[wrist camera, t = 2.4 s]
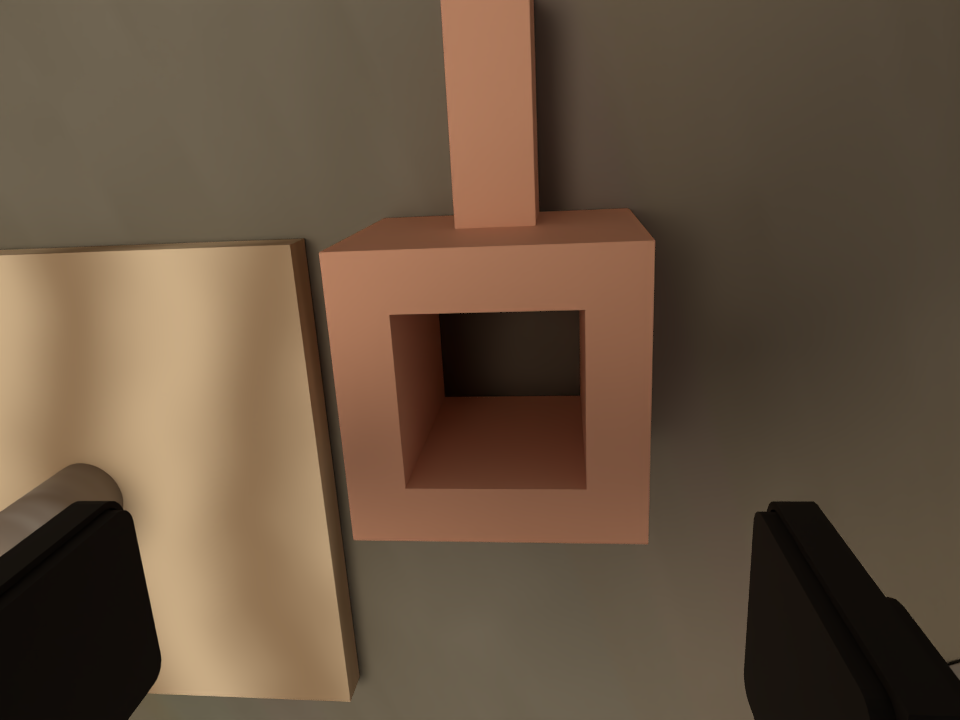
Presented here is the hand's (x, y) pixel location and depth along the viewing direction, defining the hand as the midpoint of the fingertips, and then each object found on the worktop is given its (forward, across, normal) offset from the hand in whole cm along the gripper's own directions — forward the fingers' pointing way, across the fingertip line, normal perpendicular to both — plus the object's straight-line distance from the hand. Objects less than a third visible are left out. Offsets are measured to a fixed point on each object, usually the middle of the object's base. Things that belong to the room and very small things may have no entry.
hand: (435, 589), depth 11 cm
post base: (+12, +14, +4) cm, 19 cm away
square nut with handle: (+12, 0, -4) cm, 12 cm away
